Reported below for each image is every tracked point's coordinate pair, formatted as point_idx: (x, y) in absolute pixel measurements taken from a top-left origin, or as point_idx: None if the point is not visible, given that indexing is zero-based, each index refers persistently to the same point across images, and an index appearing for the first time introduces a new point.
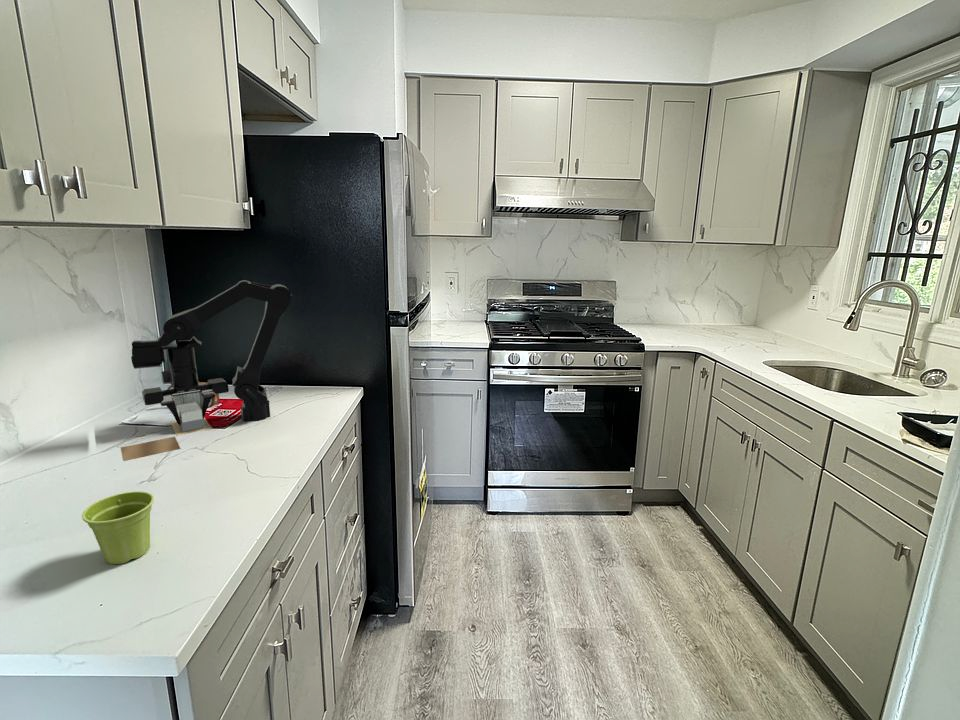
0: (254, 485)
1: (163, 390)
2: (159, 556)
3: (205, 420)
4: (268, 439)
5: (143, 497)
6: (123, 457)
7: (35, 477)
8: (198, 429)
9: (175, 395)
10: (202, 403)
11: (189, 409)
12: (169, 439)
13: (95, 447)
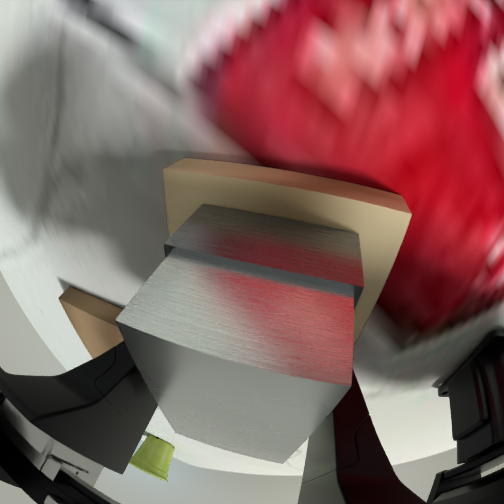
0: (273, 466)
1: (13, 479)
2: (181, 451)
3: (376, 284)
4: (393, 438)
5: (159, 474)
6: (88, 351)
7: (9, 272)
8: None
9: (98, 495)
10: (305, 483)
11: (223, 436)
12: None
13: (12, 192)
